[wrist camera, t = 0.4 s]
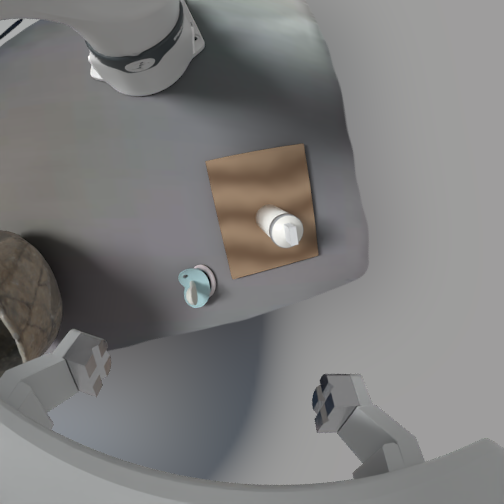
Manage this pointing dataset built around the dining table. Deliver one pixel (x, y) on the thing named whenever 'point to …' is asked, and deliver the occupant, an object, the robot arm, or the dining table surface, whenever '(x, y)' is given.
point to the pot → (26, 302)
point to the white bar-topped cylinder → (280, 226)
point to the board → (253, 198)
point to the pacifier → (197, 285)
